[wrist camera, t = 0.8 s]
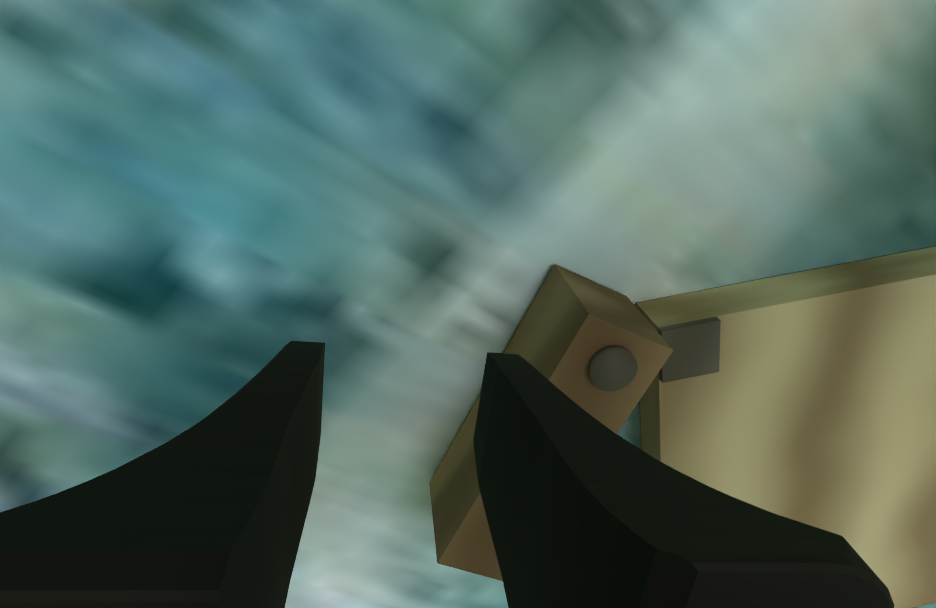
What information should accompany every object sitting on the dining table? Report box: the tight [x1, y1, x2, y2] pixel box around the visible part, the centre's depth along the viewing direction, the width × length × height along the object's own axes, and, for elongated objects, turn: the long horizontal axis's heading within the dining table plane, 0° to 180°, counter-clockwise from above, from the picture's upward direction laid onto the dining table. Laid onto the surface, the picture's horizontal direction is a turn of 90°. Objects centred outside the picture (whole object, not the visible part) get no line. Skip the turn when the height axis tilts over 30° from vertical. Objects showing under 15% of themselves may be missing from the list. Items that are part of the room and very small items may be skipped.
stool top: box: [636, 246, 936, 608], centre depth 26 cm, size 13×20×4 cm, turn 8°
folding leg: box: [430, 264, 673, 581], centre depth 22 cm, size 3×10×4 cm, turn 153°
